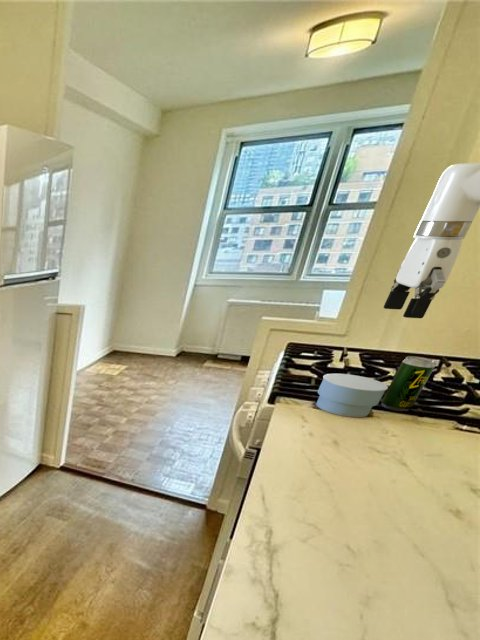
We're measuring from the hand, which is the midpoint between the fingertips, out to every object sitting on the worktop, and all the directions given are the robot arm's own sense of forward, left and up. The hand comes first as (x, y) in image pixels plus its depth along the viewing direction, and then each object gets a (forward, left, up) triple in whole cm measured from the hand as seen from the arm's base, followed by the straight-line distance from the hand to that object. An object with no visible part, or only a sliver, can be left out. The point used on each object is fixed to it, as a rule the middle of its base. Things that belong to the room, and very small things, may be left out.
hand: (401, 313), depth 110 cm
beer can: (-7, +1, -22) cm, 23 cm away
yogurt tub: (+5, +7, -22) cm, 24 cm away
